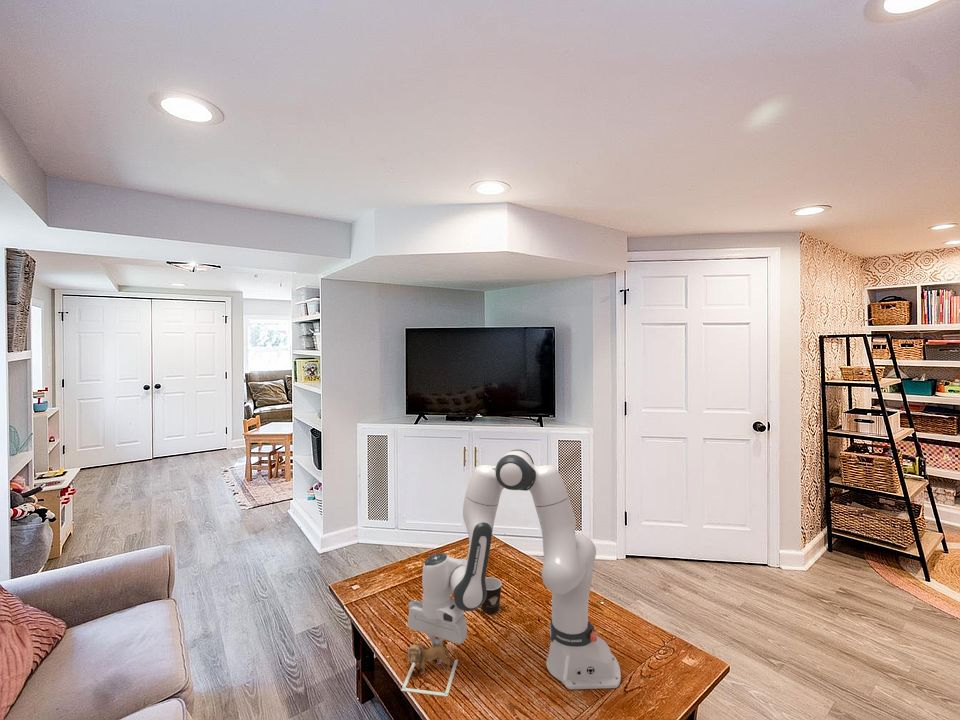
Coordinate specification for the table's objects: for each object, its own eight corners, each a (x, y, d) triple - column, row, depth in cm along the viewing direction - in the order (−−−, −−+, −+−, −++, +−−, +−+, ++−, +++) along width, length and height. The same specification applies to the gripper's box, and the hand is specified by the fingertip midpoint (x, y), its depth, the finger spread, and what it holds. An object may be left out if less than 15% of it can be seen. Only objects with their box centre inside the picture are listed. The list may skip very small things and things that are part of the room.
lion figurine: (409, 681, 135) (409, 652, 134) (406, 669, 140) (405, 641, 139) (456, 668, 140) (456, 640, 140) (451, 656, 145) (450, 629, 145)
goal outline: (458, 660, 144) (458, 659, 144) (447, 696, 129) (447, 696, 129) (415, 655, 146) (415, 654, 146) (400, 690, 131) (400, 690, 131)
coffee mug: (502, 602, 174) (502, 577, 173) (501, 616, 165) (501, 590, 165) (472, 601, 175) (472, 576, 175) (469, 615, 167) (469, 589, 166)
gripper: (403, 603, 145) (404, 644, 146) (460, 619, 137) (460, 663, 138) (414, 593, 151) (414, 632, 152) (469, 608, 142) (469, 649, 143)
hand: (436, 647), depth 145 cm, fingers closed
